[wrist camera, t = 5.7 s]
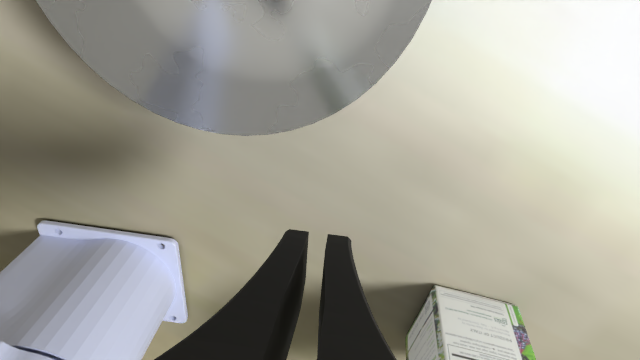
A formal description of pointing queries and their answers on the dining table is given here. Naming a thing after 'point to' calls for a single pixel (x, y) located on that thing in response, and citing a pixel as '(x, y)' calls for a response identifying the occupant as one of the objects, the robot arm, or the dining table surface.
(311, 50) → the cooker lid
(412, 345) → the syrup box
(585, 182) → the dining table surface
